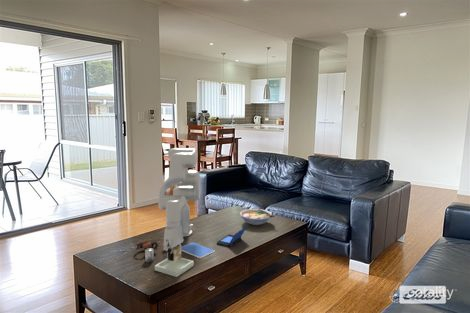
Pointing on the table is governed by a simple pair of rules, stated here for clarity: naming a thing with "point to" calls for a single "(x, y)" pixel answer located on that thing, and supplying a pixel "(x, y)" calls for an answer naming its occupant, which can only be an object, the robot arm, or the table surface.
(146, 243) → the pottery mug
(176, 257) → the beech block
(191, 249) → the tablet computer
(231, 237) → the handheld game console
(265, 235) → the table surface
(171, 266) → the tray
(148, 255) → the grey canister
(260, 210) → the ramen bowl
